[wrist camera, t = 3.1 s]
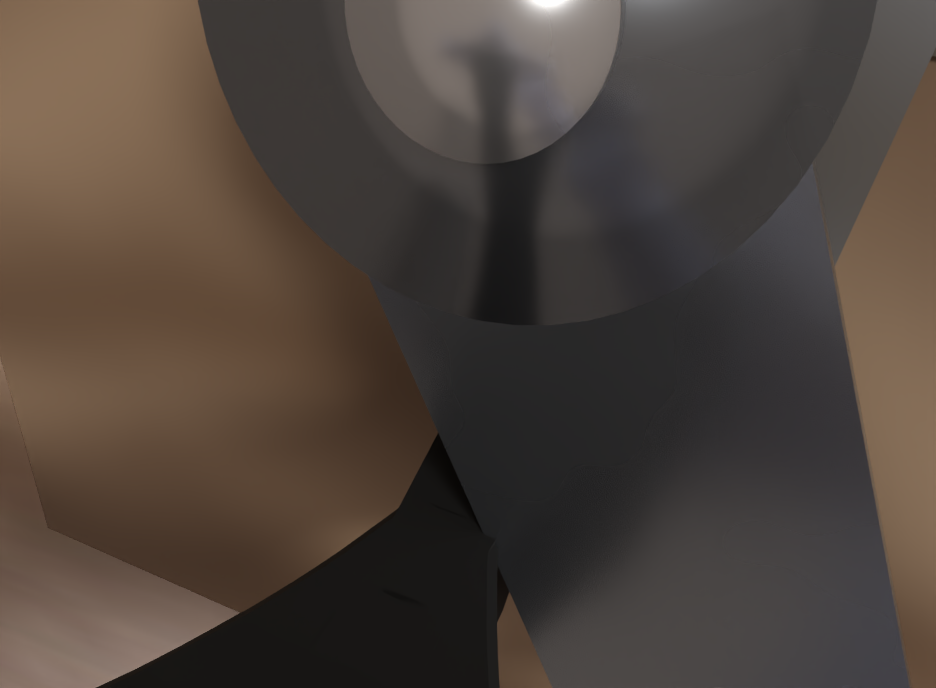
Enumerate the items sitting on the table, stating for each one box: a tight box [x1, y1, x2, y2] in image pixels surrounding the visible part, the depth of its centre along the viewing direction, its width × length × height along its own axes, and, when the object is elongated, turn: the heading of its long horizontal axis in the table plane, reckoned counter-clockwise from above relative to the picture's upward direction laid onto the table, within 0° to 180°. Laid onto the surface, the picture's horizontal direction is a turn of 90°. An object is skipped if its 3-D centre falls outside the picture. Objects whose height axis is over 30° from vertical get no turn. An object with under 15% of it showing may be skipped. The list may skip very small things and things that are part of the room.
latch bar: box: [198, 0, 912, 688], centre depth 7 cm, size 12×4×3 cm, turn 22°
